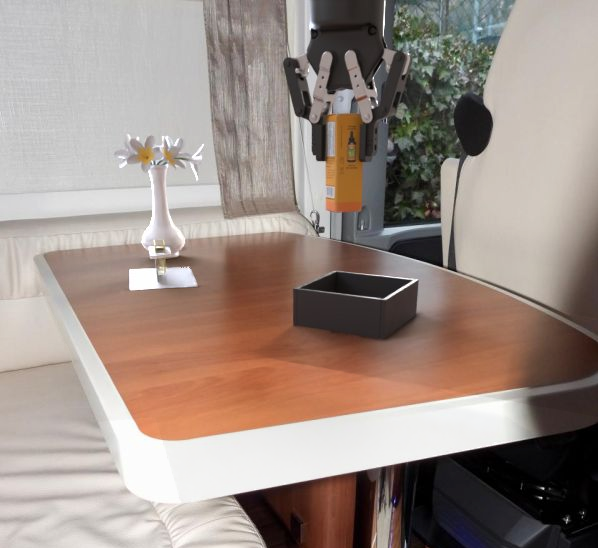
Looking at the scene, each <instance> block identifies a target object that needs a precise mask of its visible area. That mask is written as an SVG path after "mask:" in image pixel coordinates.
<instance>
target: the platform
mask: <svg viewBox="0 0 598 548" xmlns="http://www.w3.org/2000/svg"><path fill="white" fill-rule="evenodd" d="M155 242H162V243H163V247H159V246H156V245H155ZM157 251H164V253H157ZM148 254H149V259H150V260H154V263H155V264H154V265H155V268H134V269H133V268H132V269H131V268H130V269H129V290H130V291H138V290H140V291H141V290H154V289H155V290H158V289H159V290H160V289H175V288H176V289H177V288H193V287H199V286H198V283H197V280H196V278H195V276H194V273H193V271H192V269H190V268H191V267H190V266H176V267H175V266H174V267H173V266H172V267H167V262H166V259H165V257H170V256H171V251H170V248H169V247H165V244H164V241H163V240H154V246H153V247H149V251H148ZM160 258H164V259H160ZM181 267H182V268H181ZM183 267H184V268H183ZM186 267H187V268H186ZM189 267H190V268H189Z"/></svg>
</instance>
